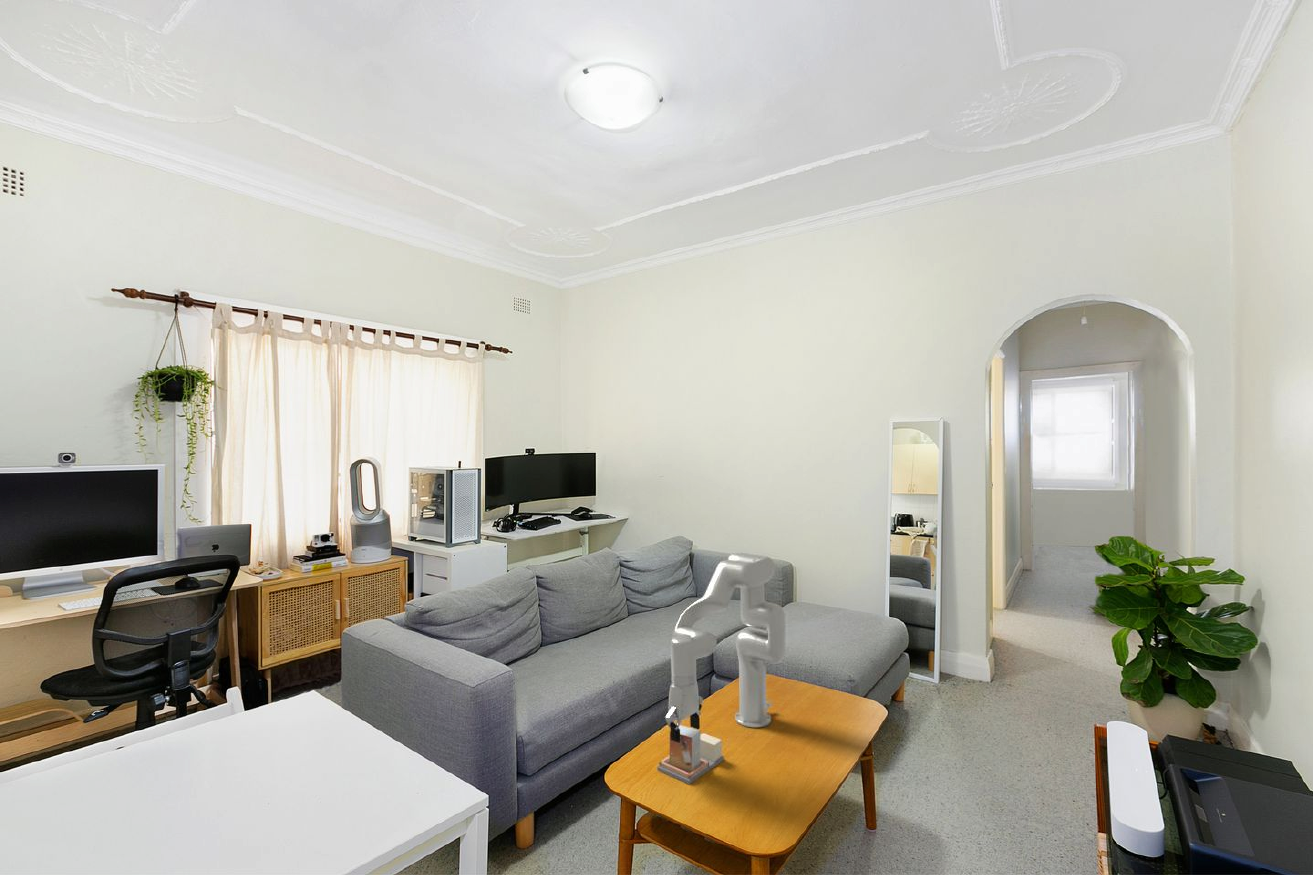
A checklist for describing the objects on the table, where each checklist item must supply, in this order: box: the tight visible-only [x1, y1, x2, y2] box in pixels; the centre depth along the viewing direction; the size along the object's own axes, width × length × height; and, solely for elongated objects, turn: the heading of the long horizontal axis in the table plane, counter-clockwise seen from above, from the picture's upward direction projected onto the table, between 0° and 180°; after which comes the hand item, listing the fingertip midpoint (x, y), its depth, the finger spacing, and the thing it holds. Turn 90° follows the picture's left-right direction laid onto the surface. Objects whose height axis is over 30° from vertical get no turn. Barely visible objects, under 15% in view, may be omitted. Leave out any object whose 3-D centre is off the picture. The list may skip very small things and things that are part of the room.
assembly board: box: [657, 733, 725, 785], centre depth 181 cm, size 18×12×6 cm, turn 140°
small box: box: [668, 724, 702, 772], centre depth 179 cm, size 8×6×10 cm
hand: (685, 734), depth 179 cm, fingers open, 9 cm apart
